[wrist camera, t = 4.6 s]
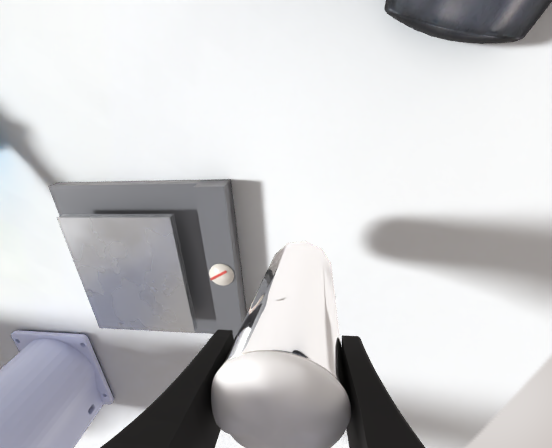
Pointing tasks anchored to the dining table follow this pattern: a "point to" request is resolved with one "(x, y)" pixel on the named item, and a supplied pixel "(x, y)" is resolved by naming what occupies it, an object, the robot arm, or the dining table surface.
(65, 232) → the scale pan
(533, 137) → the dining table surface
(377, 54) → the dining table surface
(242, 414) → the milkshake
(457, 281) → the dining table surface
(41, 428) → the robot arm
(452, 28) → the can opener
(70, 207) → the scale base
